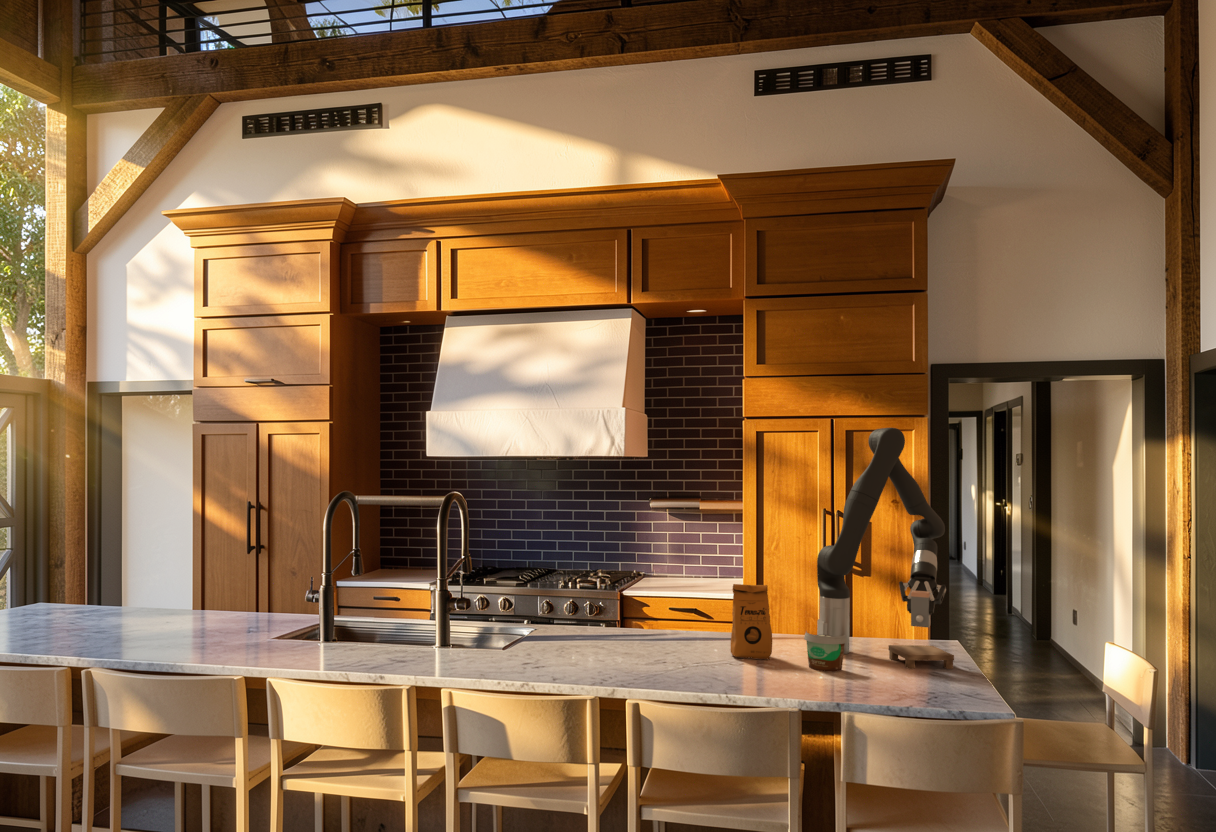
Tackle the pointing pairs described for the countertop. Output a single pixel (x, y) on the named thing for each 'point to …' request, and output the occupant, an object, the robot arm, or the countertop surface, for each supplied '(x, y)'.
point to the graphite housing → (920, 608)
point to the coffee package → (751, 622)
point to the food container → (825, 652)
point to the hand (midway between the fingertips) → (920, 612)
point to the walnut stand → (920, 654)
